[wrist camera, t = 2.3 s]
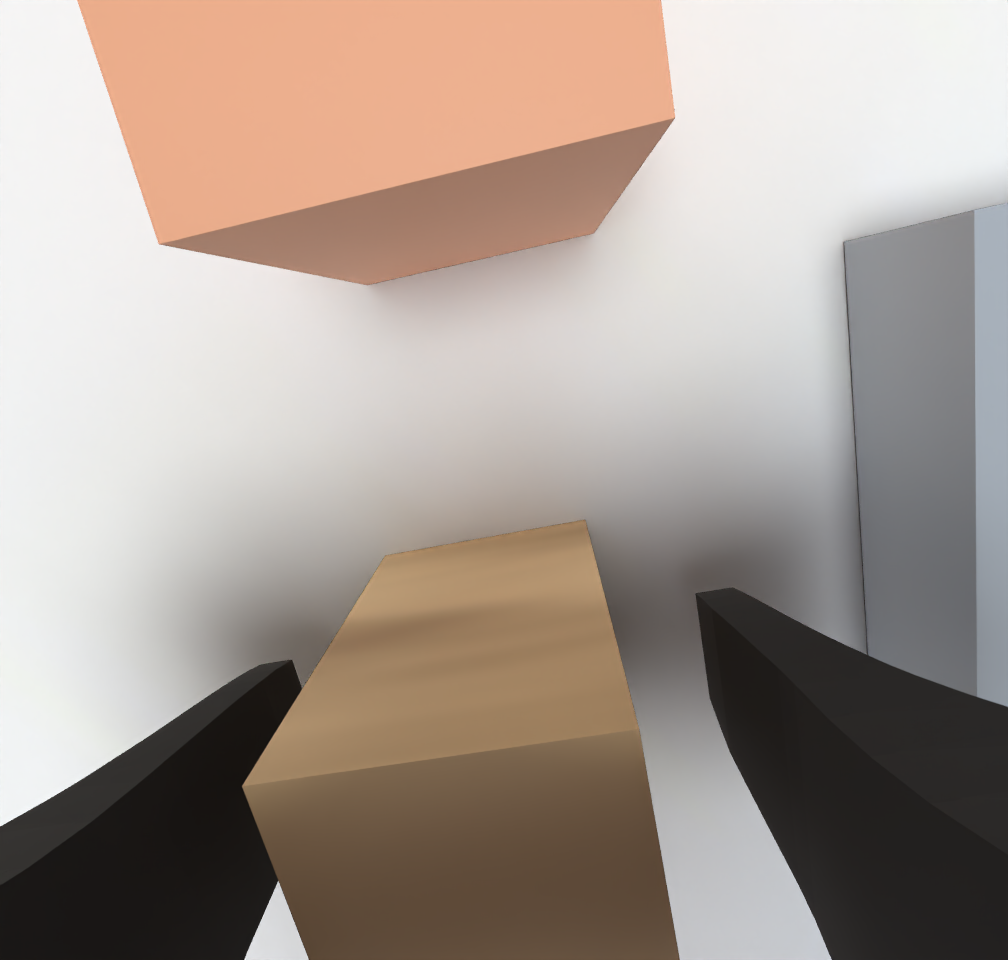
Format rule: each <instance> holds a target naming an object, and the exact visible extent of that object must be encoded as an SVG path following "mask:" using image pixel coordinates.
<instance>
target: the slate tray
mask: <svg viewBox="0 0 1008 960" xmlns="http://www.w3.org/2000/svg"><path fill="white" fill-rule="evenodd" d="M844 247H845V265H846V282H847V299H848V316H849V334H850V351H851V368H852V385H853V403H854V420H855V437H856V454H857V472H858V489H859V506H860V523H861V541H862V558H863V575H864V592H865V610H866V627H867V644H868V655H869V656H871V657H873V658H875V659H878V660H880V661H882V662H884V663H887V664H889V665H891V666H894V667H896V668H899V669H901V670H904V671H906V672H909V673H911V674H914V675H917V676H919V677H922V678H925V679H928V680H931V681H933V682H936V683H939V684H942V685H945V686H947V687H950V688H953V689H956V690H958V691H961V692H964V693H967V694H970V695H973V696H976V697H979V698H982V699H985V700H988V701H992V702H995V703H998V704H1001V705H1004V706H1008V203H1005V204H1000V205H995V206H991V207H986V208H982V209H977V210H973V211H969V212H965V213H960V214H956V215H952V216H948V217H944V218H940V219H936V220H932V221H928V222H924V223H919V224H915V225H911V226H907V227H903V228H899V229H895V230H891V231H887V232H883V233H878V234H874V235H870V236H866V237H862V238H858V239H854V240H850V241H846V242H844Z"/></svg>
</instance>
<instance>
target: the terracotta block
mask: <svg viewBox="0 0 1008 960" xmlns="http://www.w3.org/2000/svg"><path fill="white" fill-rule="evenodd" d="M77 1H78V4H79V7H80V10H81V13H82V16H83V19H84V22H85V25H86V28H87V31H88V34H89V37H90V40H91V43H92V46H93V49H94V52H95V55H96V58H97V61H98V64H99V67H100V70H101V73H102V76H103V79H104V81H105V84H106V87H107V90H108V93H109V96H110V99H111V102H112V105H113V108H114V111H115V114H116V117H117V120H118V123H119V126H120V129H121V132H122V135H123V138H124V141H125V144H126V147H127V150H128V153H129V156H130V159H131V162H132V165H133V168H134V171H135V174H136V177H137V180H138V183H139V186H140V189H141V192H142V195H143V198H144V201H145V204H146V207H147V210H148V213H149V216H150V219H151V222H152V225H153V228H154V231H155V234H156V237H157V240H158V243H159V244H160V245H166V246H171V247H176V248H181V249H186V250H191V251H196V252H201V253H206V254H211V255H217V256H222V257H227V258H232V259H237V260H242V261H247V262H252V263H257V264H262V265H267V266H273V267H278V268H283V269H288V270H293V271H298V272H303V273H308V274H313V275H318V276H323V277H329V278H334V279H339V280H344V281H349V282H354V283H359V284H364V285H370V284H374V283H379V282H383V281H387V280H392V279H396V278H401V277H405V276H409V275H414V274H418V273H422V272H427V271H431V270H436V269H440V268H444V267H449V266H453V265H458V264H462V263H466V262H471V261H475V260H479V259H484V258H488V257H493V256H497V255H501V254H506V253H510V252H515V251H519V250H523V249H528V248H532V247H536V246H541V245H545V244H550V243H554V242H558V241H563V240H567V239H572V238H576V237H580V236H585V235H589V234H593V233H594V232H595V231H596V229H597V228H598V227H599V225H600V224H601V222H602V221H603V219H604V218H605V217H606V215H607V214H608V212H609V211H610V210H611V208H612V207H613V205H614V204H615V202H616V201H617V200H618V198H619V197H620V195H621V194H622V193H623V191H624V190H625V188H626V187H627V185H628V184H629V183H630V181H631V180H632V178H633V177H634V176H635V174H636V173H637V171H638V170H639V168H640V167H641V166H642V164H643V163H644V161H645V160H646V159H647V157H648V156H649V154H650V153H651V151H652V150H653V149H654V147H655V146H656V144H657V143H658V141H659V140H660V139H661V137H662V136H663V134H664V133H665V132H666V130H667V129H668V127H669V126H670V124H671V123H672V122H673V120H674V119H675V113H674V105H673V96H672V88H671V80H670V71H669V63H668V55H667V46H666V38H665V30H664V22H663V13H662V5H661V0H77Z"/></svg>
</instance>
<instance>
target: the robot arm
mask: <svg viewBox="0 0 1008 960" xmlns="http://www.w3.org/2000/svg"><path fill="white" fill-rule="evenodd" d="M696 600H697V608H698V615H699V622H700V630H701V637H702V644H703V652H704V659H705V666H706V674H707V681H708V688H709V696H710V700H711V703H712V705H713V708H714V711H715V713H716V716H717V719H718V722H719V724H720V727H721V730H722V732H723V735H724V738H725V740H726V743H727V745H728V748H729V751H730V753H731V755H732V757H733V759H734V761H735V763H736V765H737V767H738V769H739V771H740V773H741V775H742V777H743V779H744V781H745V783H746V785H747V786H748V788H749V790H750V792H751V794H752V796H753V798H754V800H755V802H756V804H757V806H758V808H759V810H760V812H761V814H762V815H763V817H764V819H765V821H766V823H767V825H768V827H769V829H770V831H771V833H772V835H773V837H774V839H775V840H776V842H777V844H778V846H779V848H780V850H781V852H782V854H783V856H784V858H785V860H786V862H787V864H788V865H789V867H790V869H791V871H792V873H793V875H794V877H795V879H796V881H797V883H798V885H799V887H800V889H801V891H802V893H803V895H804V897H805V899H806V901H807V904H808V906H809V908H810V910H811V912H812V914H813V916H814V918H815V920H816V923H817V925H818V927H819V930H820V932H821V935H822V937H823V940H824V942H825V944H826V947H827V949H828V952H829V954H830V956H831V959H832V960H1008V706H1004V705H1001V704H998V703H995V702H992V701H988V700H985V699H982V698H979V697H976V696H973V695H970V694H967V693H964V692H961V691H958V690H956V689H953V688H950V687H947V686H945V685H942V684H939V683H936V682H933V681H931V680H928V679H925V678H922V677H919V676H917V675H914V674H911V673H909V672H906V671H904V670H901V669H899V668H896V667H894V666H891V665H889V664H887V663H884V662H882V661H880V660H878V659H875V658H873V657H871V656H869V655H866V654H864V653H862V652H859V651H857V650H855V649H853V648H850V647H848V646H846V645H844V644H842V643H840V642H838V641H836V640H833V639H831V638H829V637H827V636H825V635H823V634H821V633H819V632H817V631H815V630H813V629H811V628H809V627H807V626H805V625H803V624H801V623H799V622H798V621H796V620H794V619H792V618H790V617H788V616H786V615H784V614H782V613H781V612H779V611H777V610H775V609H773V608H771V607H769V606H768V605H766V604H764V603H762V602H760V601H758V600H757V599H755V598H753V597H751V596H749V595H747V594H745V593H743V592H741V591H739V590H737V589H735V588H727V589H721V590H714V591H708V592H702V593H696ZM301 690H302V688H301V685H300V682H299V679H298V676H297V673H296V670H295V667H294V664H293V661H292V660H287V661H281V662H275V663H268V664H262V665H259V666H257V667H255V668H253V669H251V670H249V671H247V672H246V673H244V674H242V675H241V676H239V677H237V678H236V679H234V680H232V681H231V682H229V683H228V684H226V685H225V686H223V687H221V688H220V689H218V690H217V691H215V692H214V693H212V694H211V695H209V696H208V697H206V698H205V699H203V700H202V701H200V702H199V703H197V704H196V705H194V706H193V707H192V708H190V709H189V710H187V711H186V712H184V713H183V714H181V715H180V716H178V717H177V718H175V719H174V720H172V721H171V722H169V723H168V724H166V725H165V726H164V727H162V728H161V729H159V730H158V731H156V732H155V733H153V734H152V735H150V736H149V737H147V738H146V739H144V740H143V741H141V742H139V743H138V744H136V745H135V746H133V747H132V748H130V749H129V750H127V751H125V752H124V753H122V754H121V755H119V756H118V757H116V758H115V759H113V760H112V761H110V762H108V763H107V764H105V765H104V766H102V767H101V768H99V769H98V770H96V771H94V772H93V773H91V774H90V775H88V776H87V777H85V778H84V779H82V780H80V781H79V782H77V783H75V784H74V785H72V786H70V787H69V788H67V789H65V790H64V791H62V792H60V793H59V794H57V795H55V796H54V797H52V798H50V799H48V800H47V801H45V802H43V803H42V804H40V805H38V806H36V807H34V808H33V809H31V810H29V811H27V812H26V813H24V814H22V815H20V816H18V817H17V818H15V819H13V820H11V821H9V822H8V823H6V824H4V825H2V826H0V960H244V959H245V956H246V954H247V951H248V949H249V946H250V944H251V942H252V940H253V937H254V935H255V933H256V930H257V928H258V926H259V924H260V921H261V919H262V917H263V914H264V912H265V910H266V908H267V905H268V903H269V901H270V898H271V896H272V894H273V892H274V889H275V887H276V885H277V882H278V878H277V875H276V873H275V870H274V868H273V865H272V862H271V860H270V857H269V855H268V852H267V850H266V847H265V844H264V842H263V839H262V837H261V834H260V831H259V829H258V826H257V824H256V821H255V819H254V816H253V813H252V811H251V808H250V806H249V803H248V800H247V798H246V795H245V793H244V790H243V787H242V785H243V784H244V782H245V781H246V779H247V777H248V776H249V774H250V773H251V771H252V769H253V768H254V766H255V764H256V763H257V761H258V760H259V758H260V756H261V755H262V753H263V752H264V750H265V748H266V747H267V745H268V744H269V742H270V740H271V739H272V737H273V735H274V734H275V732H276V731H277V729H278V727H279V726H280V724H281V723H282V721H283V719H284V718H285V716H286V715H287V713H288V711H289V710H290V708H291V706H292V705H293V703H294V702H295V700H296V698H297V697H298V695H299V694H300V692H301Z"/></svg>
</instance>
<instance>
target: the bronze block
mask: <svg viewBox="0 0 1008 960" xmlns="http://www.w3.org/2000/svg"><path fill="white" fill-rule="evenodd" d="M242 787H243V790H244V793H245V795H246V798H247V800H248V803H249V806H250V808H251V811H252V813H253V816H254V819H255V821H256V824H257V826H258V829H259V831H260V834H261V837H262V839H263V842H264V844H265V847H266V850H267V852H268V855H269V857H270V860H271V862H272V865H273V868H274V870H275V873H276V875H277V878H278V881H279V883H280V886H281V888H282V891H283V894H284V896H285V899H286V901H287V904H288V906H289V909H290V912H291V914H292V917H293V919H294V922H295V925H296V927H297V930H298V932H299V935H300V938H301V940H302V943H303V945H304V948H305V950H306V953H307V956H308V958H309V960H680V959H679V953H678V947H677V942H676V936H675V930H674V924H673V919H672V913H671V907H670V902H669V896H668V890H667V885H666V879H665V873H664V868H663V862H662V856H661V850H660V845H659V839H658V833H657V828H656V822H655V816H654V811H653V805H652V799H651V794H650V788H649V782H648V776H647V771H646V765H645V759H644V754H643V748H642V742H641V737H640V731H639V726H638V723H637V719H636V715H635V711H634V707H633V703H632V699H631V695H630V692H629V688H628V684H627V680H626V676H625V672H624V668H623V664H622V661H621V657H620V653H619V649H618V645H617V641H616V637H615V633H614V630H613V626H612V622H611V618H610V614H609V610H608V606H607V602H606V599H605V595H604V591H603V587H602V583H601V579H600V575H599V571H598V567H597V564H596V560H595V556H594V552H593V548H592V544H591V540H590V536H589V533H588V529H587V525H586V521H585V520H580V521H575V522H569V523H563V524H558V525H552V526H547V527H541V528H536V529H530V530H525V531H519V532H513V533H508V534H502V535H497V536H491V537H486V538H480V539H475V540H469V541H463V542H458V543H452V544H447V545H441V546H436V547H430V548H425V549H419V550H414V551H408V552H402V553H397V554H391V555H386V556H385V557H384V558H383V560H382V561H381V563H380V565H379V566H378V568H377V570H376V571H375V573H374V574H373V576H372V578H371V579H370V581H369V582H368V584H367V586H366V587H365V589H364V590H363V592H362V594H361V595H360V597H359V599H358V600H357V602H356V603H355V605H354V607H353V608H352V610H351V611H350V613H349V615H348V616H347V618H346V619H345V621H344V623H343V624H342V626H341V628H340V629H339V631H338V632H337V634H336V636H335V637H334V639H333V640H332V642H331V644H330V645H329V647H328V648H327V650H326V652H325V653H324V655H323V657H322V658H321V660H320V661H319V663H318V665H317V666H316V668H315V669H314V671H313V673H312V674H311V676H310V677H309V679H308V681H307V682H306V684H305V686H304V687H303V689H302V690H301V692H300V694H299V695H298V697H297V698H296V700H295V702H294V703H293V705H292V706H291V708H290V710H289V711H288V713H287V715H286V716H285V718H284V719H283V721H282V723H281V724H280V726H279V727H278V729H277V731H276V732H275V734H274V735H273V737H272V739H271V740H270V742H269V744H268V745H267V747H266V748H265V750H264V752H263V753H262V755H261V756H260V758H259V760H258V761H257V763H256V764H255V766H254V768H253V769H252V771H251V773H250V774H249V776H248V777H247V779H246V781H245V782H244V784H243V785H242Z"/></svg>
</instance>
